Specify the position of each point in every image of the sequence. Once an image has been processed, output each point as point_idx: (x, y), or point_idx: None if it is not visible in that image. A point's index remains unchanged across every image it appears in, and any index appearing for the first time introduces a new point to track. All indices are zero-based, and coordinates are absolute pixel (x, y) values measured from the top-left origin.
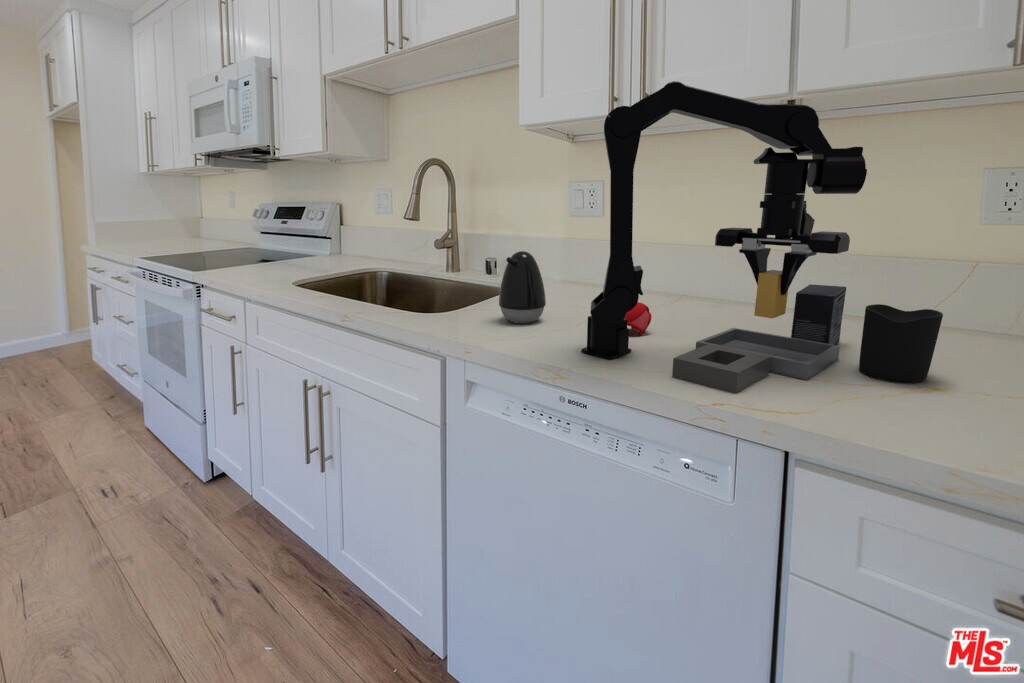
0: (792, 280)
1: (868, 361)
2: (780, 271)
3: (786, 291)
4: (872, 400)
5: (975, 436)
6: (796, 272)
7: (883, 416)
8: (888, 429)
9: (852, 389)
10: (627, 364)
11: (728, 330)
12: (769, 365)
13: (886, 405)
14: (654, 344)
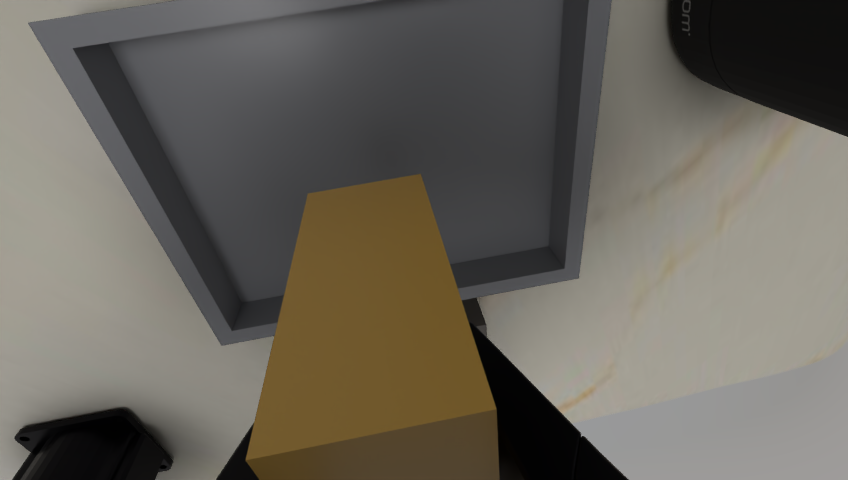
0: (540, 393)
1: (728, 89)
2: (409, 471)
3: (481, 336)
4: (701, 253)
5: (844, 276)
6: (602, 461)
7: (716, 308)
8: (719, 344)
9: (660, 222)
10: (222, 448)
11: (93, 113)
12: (479, 307)
13: (725, 257)
14: (45, 319)
